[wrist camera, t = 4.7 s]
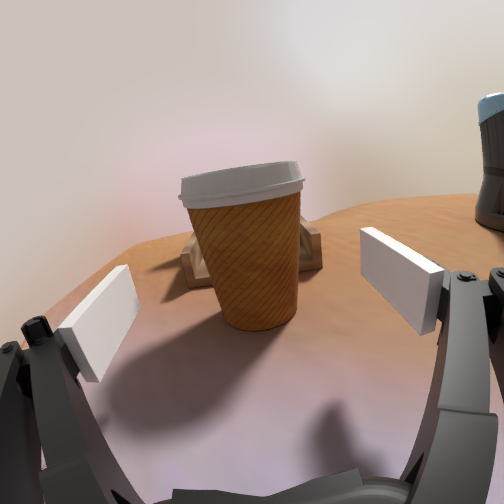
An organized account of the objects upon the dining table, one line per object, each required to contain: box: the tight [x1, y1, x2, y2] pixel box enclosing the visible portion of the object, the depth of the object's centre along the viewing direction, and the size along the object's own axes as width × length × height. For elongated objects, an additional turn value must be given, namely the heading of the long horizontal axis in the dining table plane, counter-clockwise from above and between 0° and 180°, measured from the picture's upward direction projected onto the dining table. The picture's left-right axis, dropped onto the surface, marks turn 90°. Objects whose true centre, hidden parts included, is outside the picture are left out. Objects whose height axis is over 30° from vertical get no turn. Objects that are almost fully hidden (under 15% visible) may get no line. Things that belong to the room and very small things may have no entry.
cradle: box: [180, 215, 323, 288], centre depth 36 cm, size 16×15×11 cm
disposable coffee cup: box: [178, 161, 305, 331], centre depth 22 cm, size 10×10×12 cm
